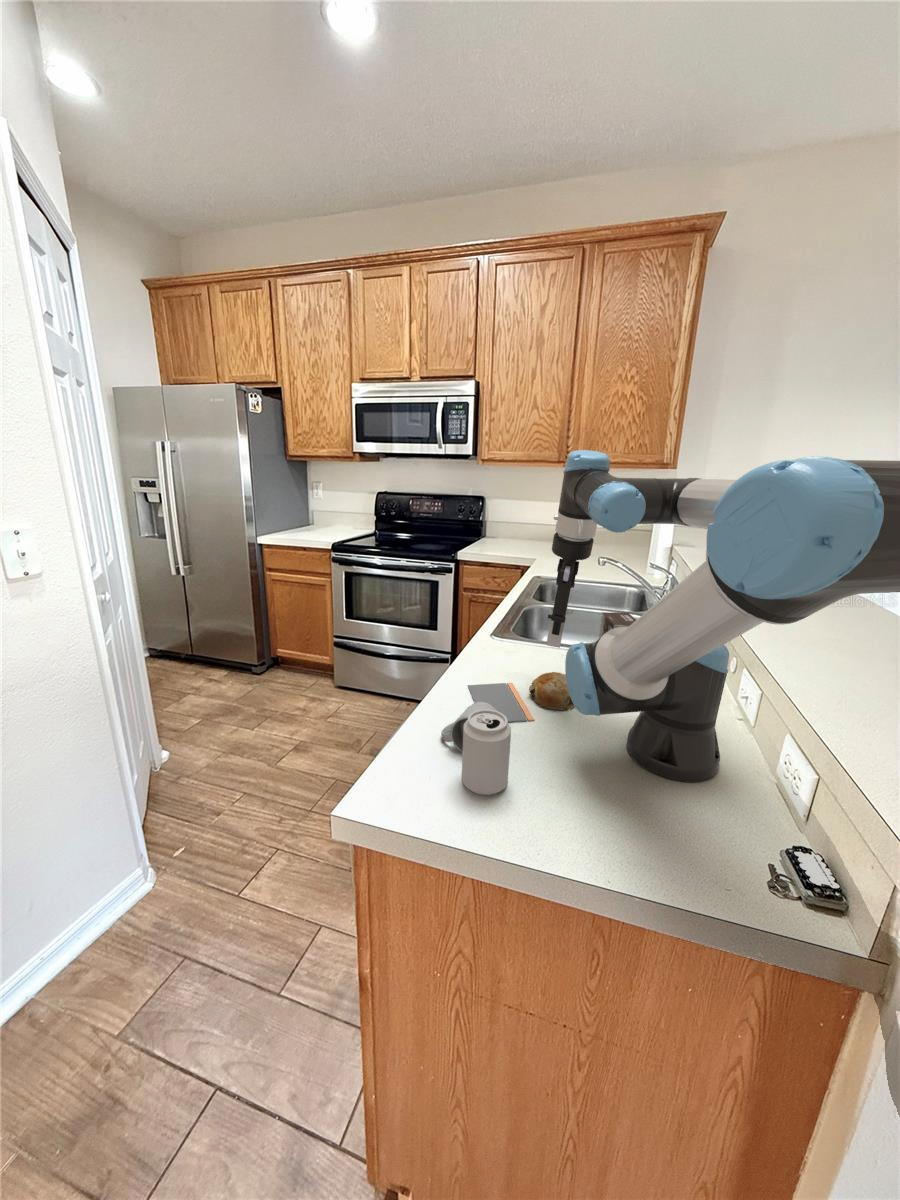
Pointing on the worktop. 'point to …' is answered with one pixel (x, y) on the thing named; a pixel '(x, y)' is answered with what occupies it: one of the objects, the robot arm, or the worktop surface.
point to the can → (486, 752)
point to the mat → (502, 700)
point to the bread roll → (551, 691)
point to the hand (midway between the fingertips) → (556, 629)
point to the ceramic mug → (462, 724)
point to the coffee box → (615, 621)
